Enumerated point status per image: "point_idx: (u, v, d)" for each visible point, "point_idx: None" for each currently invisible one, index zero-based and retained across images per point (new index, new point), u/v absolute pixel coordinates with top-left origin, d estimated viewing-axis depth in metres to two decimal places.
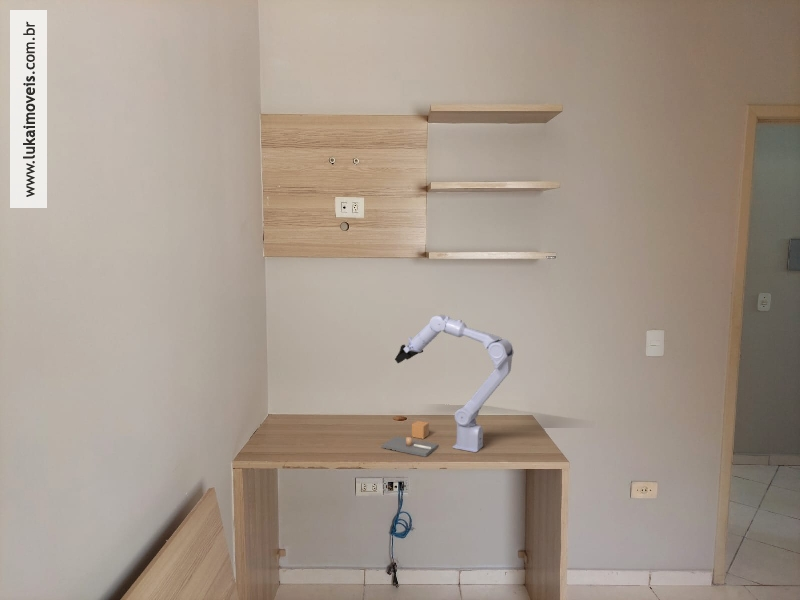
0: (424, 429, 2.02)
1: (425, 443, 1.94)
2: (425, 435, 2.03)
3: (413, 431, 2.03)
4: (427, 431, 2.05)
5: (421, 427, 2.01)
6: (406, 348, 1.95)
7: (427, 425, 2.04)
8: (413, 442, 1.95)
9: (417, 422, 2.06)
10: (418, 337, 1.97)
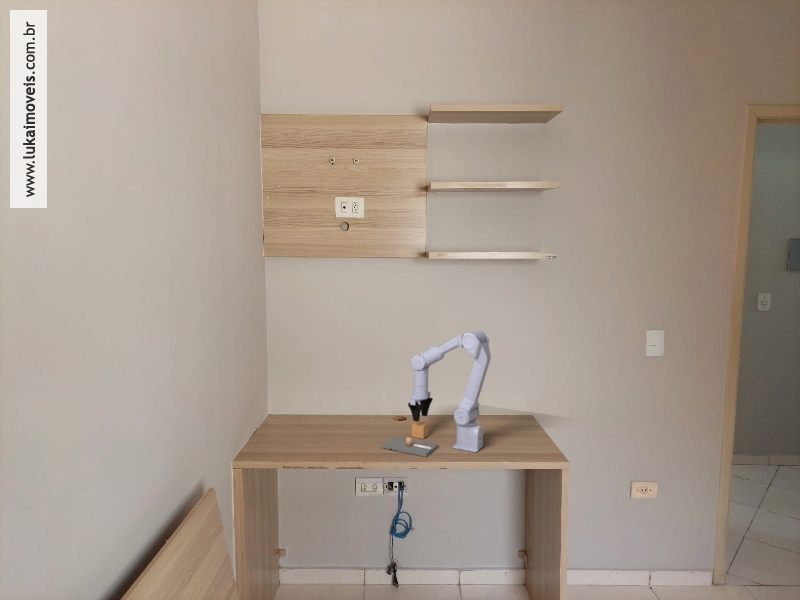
0: (424, 429, 2.02)
1: (425, 443, 1.94)
2: (425, 435, 2.03)
3: (413, 431, 2.03)
4: (427, 431, 2.05)
5: (421, 427, 2.01)
6: (411, 401, 1.97)
7: (427, 425, 2.04)
8: (413, 442, 1.95)
9: (417, 422, 2.06)
10: (415, 386, 2.01)
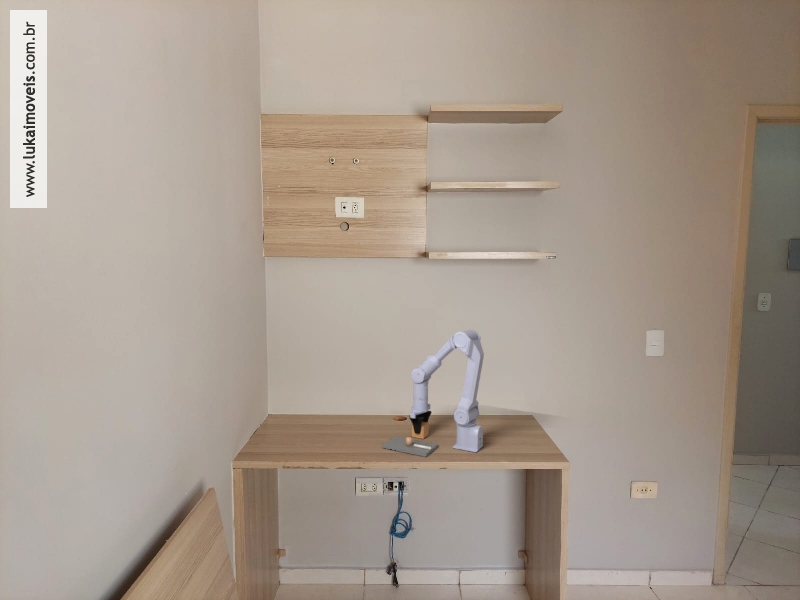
0: (424, 429, 2.02)
1: (425, 443, 1.94)
2: (425, 435, 2.03)
3: (413, 431, 2.03)
4: (427, 431, 2.05)
5: (421, 427, 2.01)
6: (411, 414, 1.98)
7: (427, 425, 2.04)
8: (413, 442, 1.95)
9: None
10: (415, 399, 2.02)
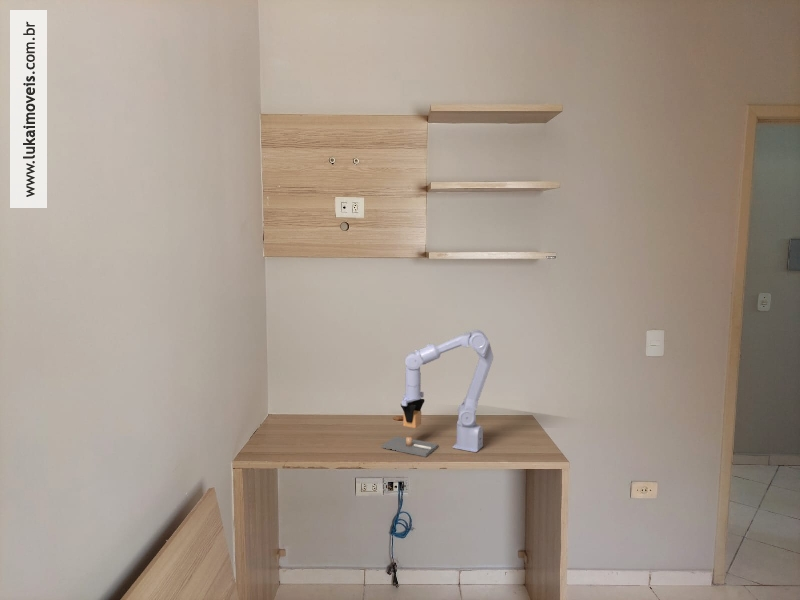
0: (416, 418, 1.92)
1: (425, 443, 1.94)
2: (417, 424, 1.93)
3: (405, 420, 1.93)
4: (419, 420, 1.95)
5: (413, 416, 1.92)
6: (403, 402, 1.88)
7: (419, 414, 1.94)
8: (413, 442, 1.95)
9: None
10: (407, 386, 1.92)
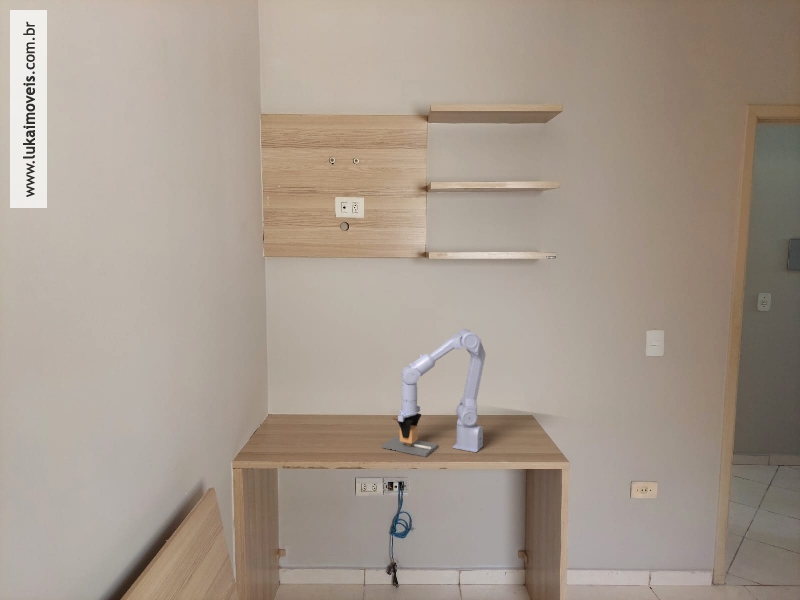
0: (413, 433, 1.89)
1: (425, 443, 1.94)
2: (414, 440, 1.90)
3: (401, 435, 1.90)
4: (416, 435, 1.91)
5: None
6: (399, 417, 1.84)
7: (416, 429, 1.91)
8: (413, 442, 1.95)
9: None
10: (403, 401, 1.88)
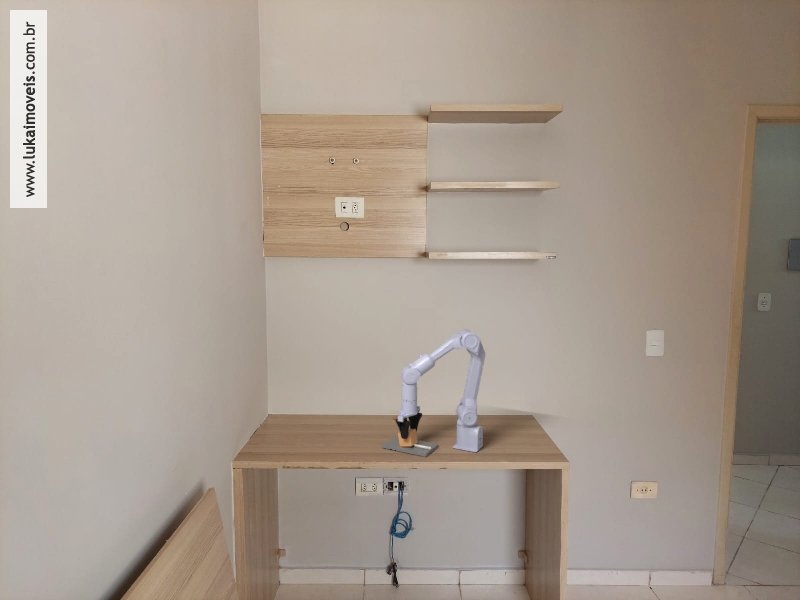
0: (411, 436, 1.89)
1: (425, 443, 1.94)
2: (413, 442, 1.90)
3: (400, 440, 1.90)
4: (415, 438, 1.91)
5: None
6: (399, 417, 1.84)
7: (414, 431, 1.91)
8: None
9: None
10: (403, 401, 1.88)
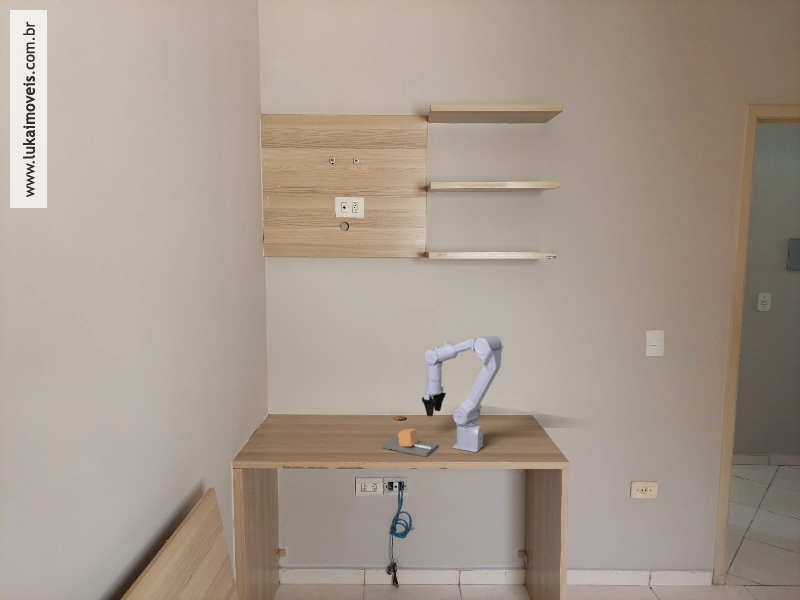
0: (411, 436, 1.89)
1: (425, 443, 1.94)
2: (413, 442, 1.90)
3: (400, 440, 1.90)
4: (415, 438, 1.91)
5: (407, 434, 1.89)
6: (425, 396, 1.96)
7: (414, 431, 1.91)
8: None
9: (403, 430, 1.93)
10: (429, 381, 2.00)
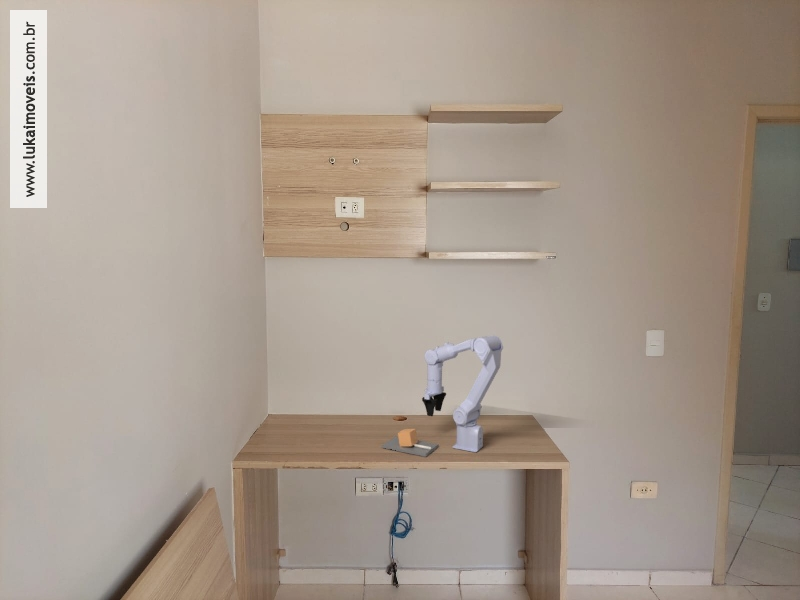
0: (411, 436, 1.89)
1: (425, 443, 1.94)
2: (413, 442, 1.90)
3: (400, 440, 1.90)
4: (415, 438, 1.91)
5: (407, 434, 1.89)
6: (426, 396, 1.96)
7: (414, 431, 1.91)
8: None
9: (403, 430, 1.93)
10: (429, 381, 2.01)
